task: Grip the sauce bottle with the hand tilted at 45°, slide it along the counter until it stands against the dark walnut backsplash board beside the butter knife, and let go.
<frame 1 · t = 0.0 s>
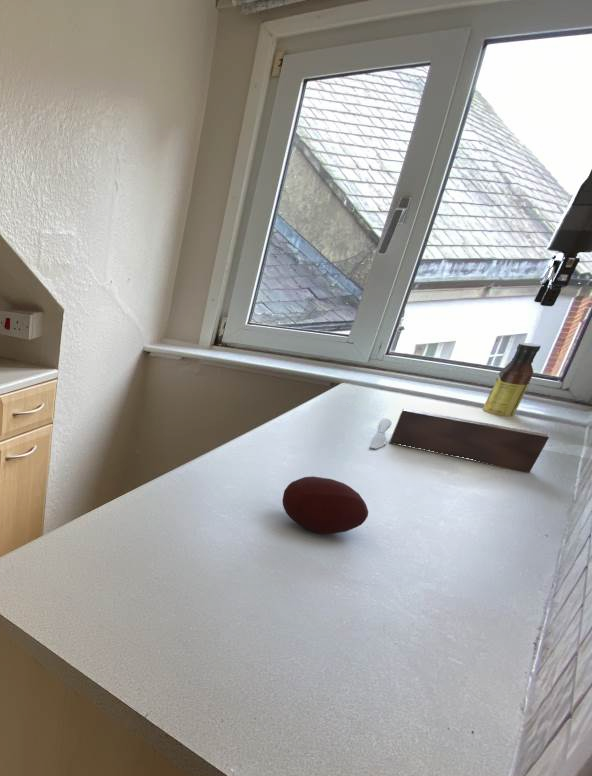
hand: (542, 304, 129), 30 cm above the counter, tool pointing down, fingers open, 8 cm apart
potato: (313, 526, 91), on the counter
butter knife: (381, 435, 132), on the counter
backsplash board: (455, 455, 121), on the counter
sauce bottle: (493, 419, 146), on the counter
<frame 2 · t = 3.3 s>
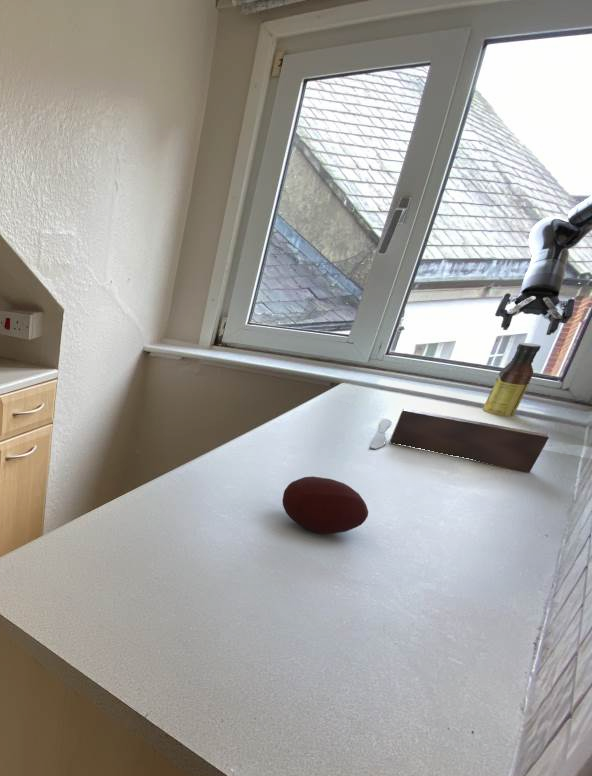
hand: (527, 330, 144), 22 cm above the counter, tool tilted 45°, fingers open, 8 cm apart
nothing on the counter moved.
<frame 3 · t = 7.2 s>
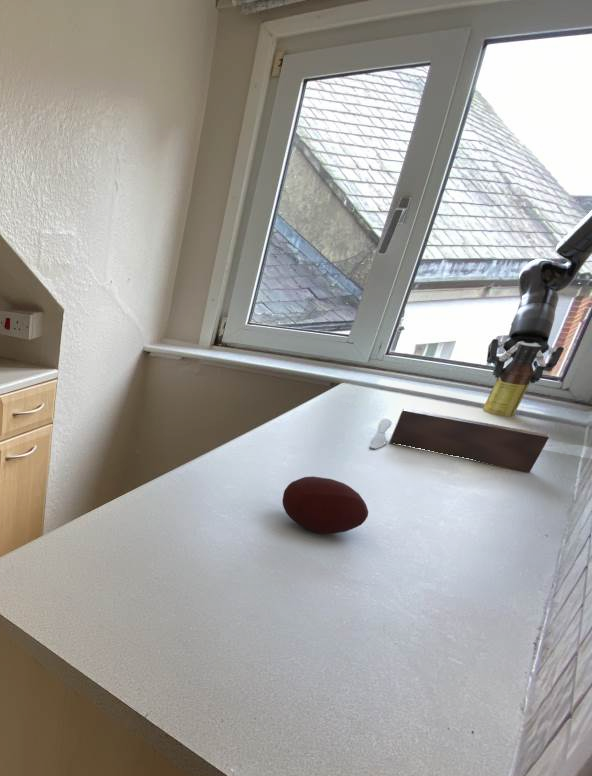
hand: (515, 378, 140), 11 cm above the counter, tool tilted 45°, fingers closed on sauce bottle, 6 cm apart
sauce bottle: (493, 419, 146), on the counter, touching gripper
everything else where it was.
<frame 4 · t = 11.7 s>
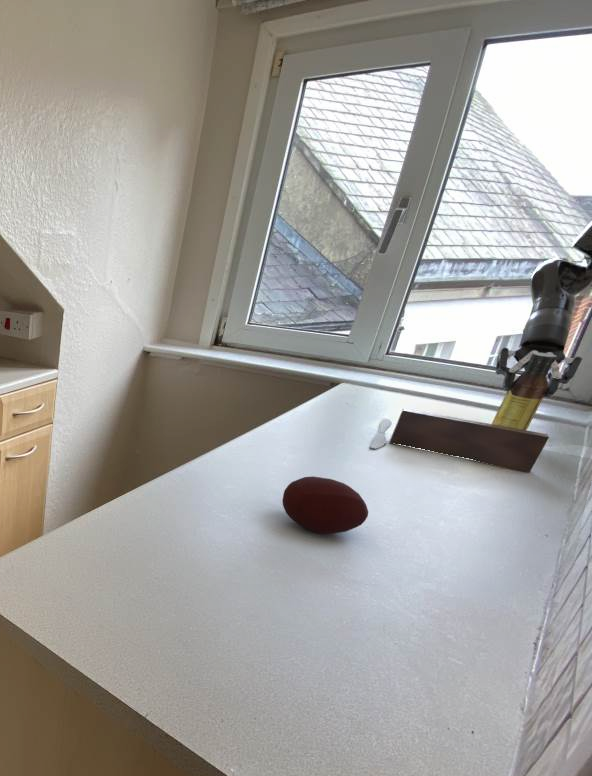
hand: (527, 391, 126), 12 cm above the counter, tool tilted 45°, fingers closed on sauce bottle, 6 cm apart
sauce bottle: (503, 436, 133), on the counter, touching gripper
everything else where it was.
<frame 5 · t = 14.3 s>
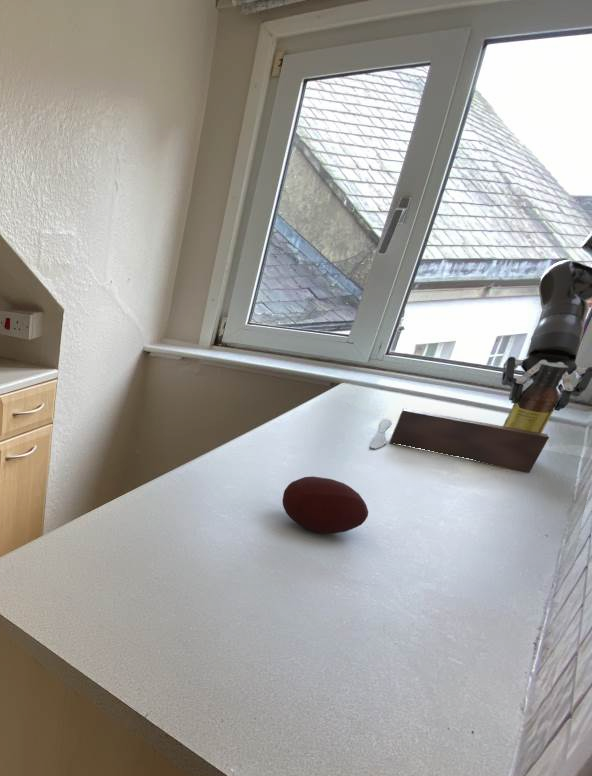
hand: (536, 404, 117), 12 cm above the counter, tool tilted 45°, fingers closed on sauce bottle, 6 cm apart
sauce bottle: (509, 451, 123), on the counter, touching gripper
everything else where it was.
when the fingers open (11 cm above the counter, at t = 16.5 s): sauce bottle stays where it is, on the counter.
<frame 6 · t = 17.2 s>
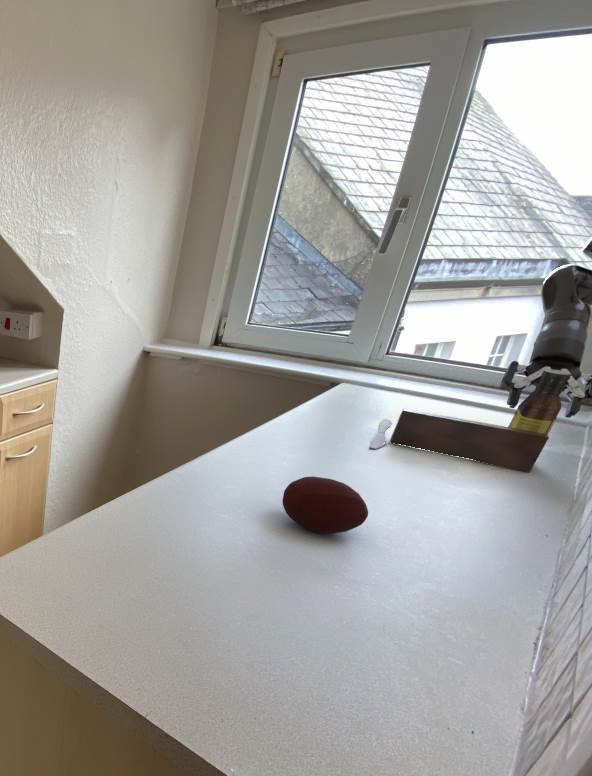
hand: (540, 410, 114), 12 cm above the counter, tool tilted 45°, fingers open, 8 cm apart
sauce bottle: (511, 460, 120), on the counter
everything else where it was.
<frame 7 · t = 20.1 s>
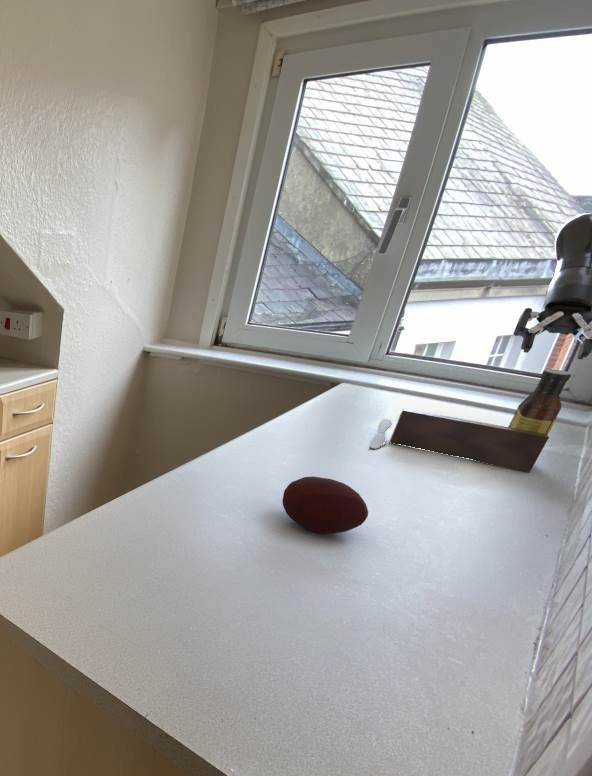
hand: (554, 353, 119), 22 cm above the counter, tool tilted 45°, fingers open, 8 cm apart
nothing on the counter moved.
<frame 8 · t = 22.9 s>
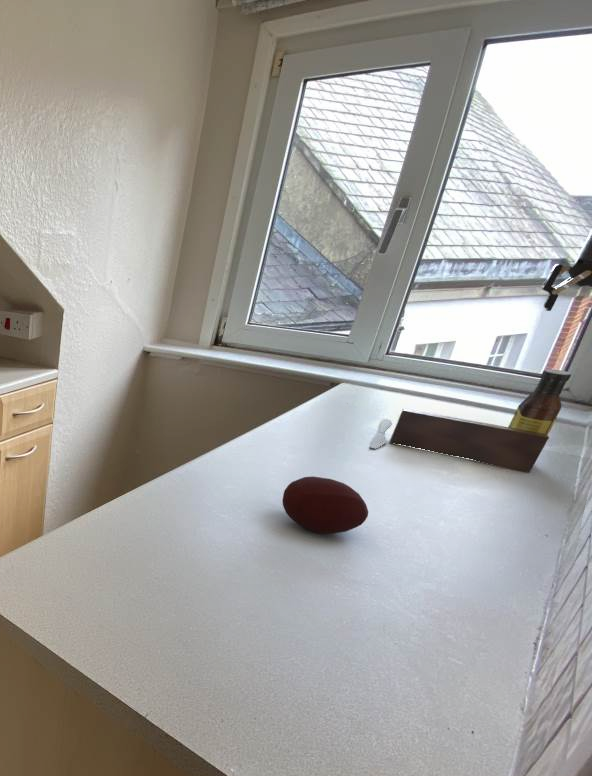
hand: (572, 312, 131), 28 cm above the counter, tool pointing down, fingers open, 8 cm apart
nothing on the counter moved.
at the end: sauce bottle inside the target area on the counter beside the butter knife (1.2 cm from its centre), on the counter; sauce bottle 0.4 cm from the target spot on the counter beside the backsplash board, on the counter; sauce bottle tilted 0° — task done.
